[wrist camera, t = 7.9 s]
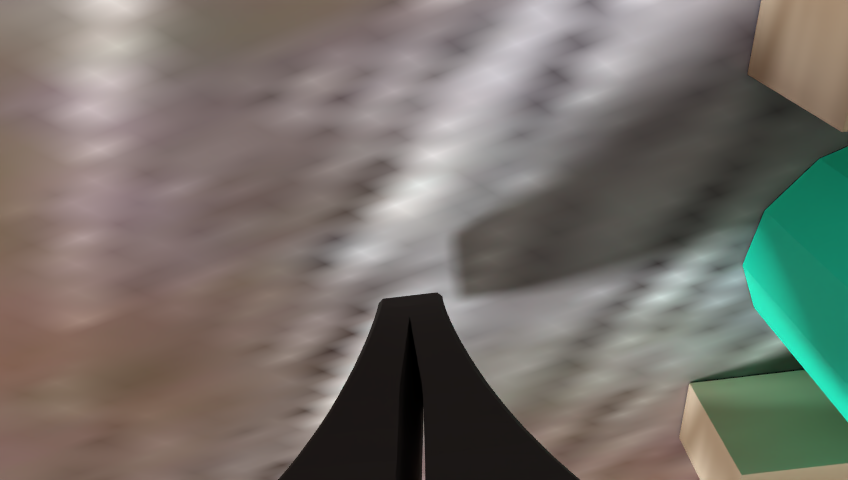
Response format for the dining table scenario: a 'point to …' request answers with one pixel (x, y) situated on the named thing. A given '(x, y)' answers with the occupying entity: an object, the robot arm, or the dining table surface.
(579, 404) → the dining table surface
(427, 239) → the dining table surface
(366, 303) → the dining table surface
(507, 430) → the robot arm
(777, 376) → the stand
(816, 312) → the candle
